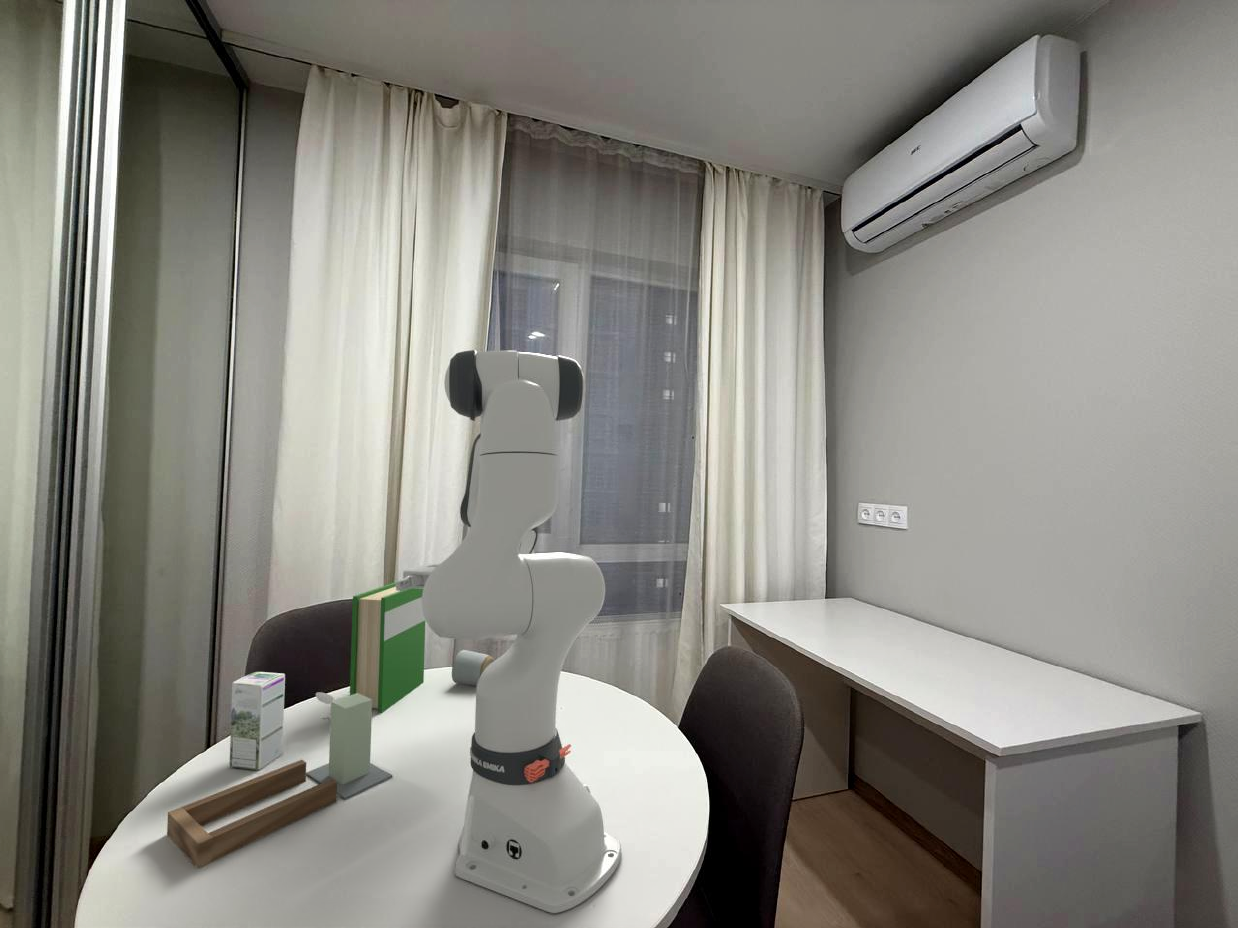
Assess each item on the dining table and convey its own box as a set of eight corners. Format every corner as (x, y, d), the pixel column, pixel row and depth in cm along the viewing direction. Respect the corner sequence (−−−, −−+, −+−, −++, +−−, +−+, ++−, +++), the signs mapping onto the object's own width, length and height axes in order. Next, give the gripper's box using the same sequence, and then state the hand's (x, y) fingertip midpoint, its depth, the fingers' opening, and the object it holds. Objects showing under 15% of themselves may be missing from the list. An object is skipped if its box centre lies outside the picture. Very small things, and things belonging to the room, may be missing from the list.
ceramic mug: (481, 691, 126) (483, 658, 126) (450, 687, 128) (451, 654, 128) (502, 676, 136) (503, 645, 137) (472, 673, 138) (473, 642, 139)
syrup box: (284, 754, 96) (287, 671, 96) (257, 771, 90) (261, 683, 91) (255, 751, 97) (258, 669, 97) (227, 768, 91) (230, 681, 91)
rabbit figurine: (359, 716, 112) (327, 711, 106) (345, 730, 111) (312, 726, 105) (352, 693, 116) (320, 687, 109) (339, 707, 115) (306, 701, 109)
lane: (336, 801, 82) (337, 781, 82) (197, 868, 68) (198, 843, 68) (301, 777, 89) (301, 759, 89) (166, 834, 74) (167, 812, 74)
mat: (392, 776, 89) (392, 774, 89) (344, 799, 83) (344, 797, 83) (352, 754, 96) (352, 753, 96) (306, 774, 90) (306, 772, 90)
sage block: (369, 772, 90) (372, 699, 90) (343, 784, 86) (345, 708, 87) (355, 763, 93) (357, 692, 93) (328, 775, 89) (331, 701, 89)
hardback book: (381, 713, 113) (385, 598, 114) (349, 710, 114) (353, 596, 115) (423, 682, 131) (426, 582, 132) (395, 680, 132) (398, 581, 133)
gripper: (435, 554, 117) (377, 568, 105) (505, 557, 106) (450, 573, 94) (438, 583, 117) (380, 601, 105) (508, 589, 106) (453, 609, 94)
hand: (414, 588), depth 99 cm, fingers open, 8 cm apart
